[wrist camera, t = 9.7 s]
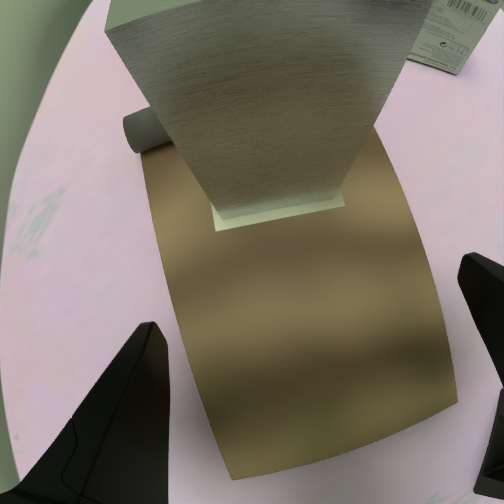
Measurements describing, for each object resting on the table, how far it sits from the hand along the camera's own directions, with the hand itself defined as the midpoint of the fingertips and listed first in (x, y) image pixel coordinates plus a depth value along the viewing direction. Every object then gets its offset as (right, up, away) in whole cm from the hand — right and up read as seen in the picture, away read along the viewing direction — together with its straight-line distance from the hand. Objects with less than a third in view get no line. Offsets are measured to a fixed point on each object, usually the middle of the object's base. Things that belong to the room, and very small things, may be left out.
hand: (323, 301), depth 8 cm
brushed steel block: (-1, +5, +9) cm, 10 cm away
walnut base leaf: (+1, +1, +9) cm, 9 cm away
